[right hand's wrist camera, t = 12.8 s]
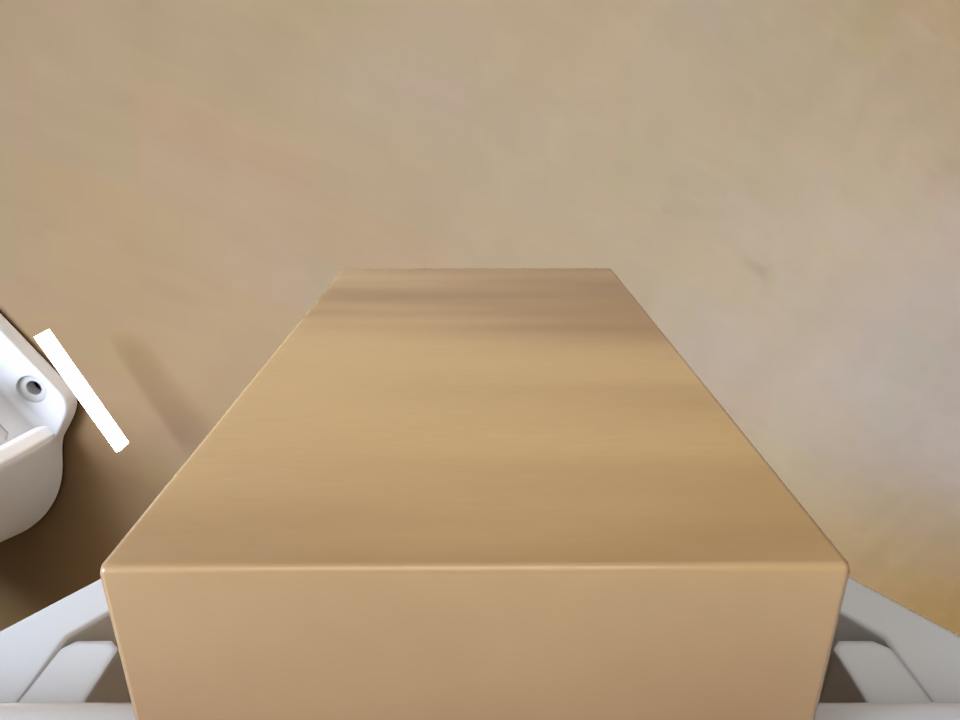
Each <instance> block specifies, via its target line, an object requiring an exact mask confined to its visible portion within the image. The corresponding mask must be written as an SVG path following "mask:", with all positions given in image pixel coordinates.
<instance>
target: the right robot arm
mask: <svg viewBox="0 0 960 720" xmlns="http://www.w3.org/2000/svg"><path fill="white" fill-rule="evenodd" d="M34 338H35V340H36V341H37V343H38V344H39V345H40V347H41V348H42V350H43V351H44V352H45V354H46V355H47V356H48V358H49V359H50V361H51V362H52V363H53V365H54V366H55V368H56V369H57V370H58V372H59V373H60V375H61V376H62V377H63V378H62V377H61V376H60V375H59V374H58V373H57V372H56V371H55V370H54V369H53V368H52V367H51V365H50V364H49V363H48V362H47V361H46V360H45V359H44V358H43V357H42V356H41V355H40V354H39V353H38V352H37V351H36V350H35V349H34V348H33V347H32V346H31V345H30V344H29V343H28V342H27V340H26V339H25V338H24V337H23V336H22V335H21V334H20V333H19V332H18V331H17V330H16V329H15V328H14V327H13V326H12V325H11V324H10V323H9V322H8V321H7V320H6V319H5V318H4V317H3V316H2V314H1V313H0V542H2V541H4V540H6V539H8V538H11V537H13V536H15V535H18V534H20V533H22V532H24V531H25V530H27V529H29V528H30V527H32V526H33V525H34V524H36V523H37V522H38V521H39V520H40V519H41V518H42V517H43V516H44V515H45V514H46V513H47V512H48V510H49V509H50V507H51V506H52V504H53V502H54V501H55V499H56V496H57V494H58V491H59V488H60V484H61V480H62V473H63V453H62V446H63V437H64V434H65V433H66V431H67V429H68V427H69V425H70V423H71V421H72V419H73V417H74V414H75V412H76V408H77V398H78V400H79V401H80V403H81V404H82V405H83V407H84V408H85V410H86V411H87V412H88V414H89V415H90V416H91V418H92V419H93V421H94V422H95V423H96V425H97V426H98V428H99V429H100V430H101V432H102V433H103V435H104V436H105V437H106V439H107V440H108V442H109V443H110V444H111V446H112V447H113V449H114V450H115V451H116V452H118V451H121V450H122V449H123V448H124V447H125V446H126V445H127V444H128V443H129V441H128V440H127V439H126V437H125V436H124V434H123V433H122V431H121V430H120V429H119V427H118V426H117V424H116V423H115V422H114V420H113V419H112V417H111V416H110V414H109V413H108V412H107V410H106V409H105V407H104V406H103V404H102V403H101V402H100V400H99V399H98V397H97V396H96V395H95V393H94V392H93V390H92V389H91V387H90V386H89V385H88V383H87V382H86V380H85V379H84V378H83V376H82V375H81V373H80V372H79V370H78V369H77V368H76V366H75V365H74V363H73V362H72V360H71V359H70V358H69V356H68V355H67V353H66V352H65V351H64V349H63V348H62V346H61V345H60V343H59V342H58V341H57V339H56V338H55V336H54V335H53V334H52V332H51V331H50V329H48V330H46V331H44V332H42V333H40V334H38V335H36V336H34ZM34 381H35V382H37V383H38V384H39V385H40V386H41V389H42V390H41V389H38V388H37V387H36V386H35V384H34ZM0 720H136V719H135V715H134V710H133V706H132V702H131V698H130V694H129V690H128V686H127V682H126V678H125V674H124V670H123V666H122V662H121V658H120V654H119V650H118V646H117V642H116V638H115V634H114V630H113V626H112V621H111V617H110V613H109V609H108V605H107V601H106V597H105V593H104V589H103V585H102V581H101V579H99V580H97V581H95V582H94V583H92V584H90V585H88V586H86V587H84V588H82V589H80V590H78V591H76V592H75V593H73V594H71V595H69V596H67V597H65V598H63V599H61V600H59V601H57V602H56V603H54V604H52V605H50V606H48V607H46V608H44V609H42V610H40V611H38V612H37V613H35V614H33V615H31V616H29V617H27V618H25V619H23V620H21V621H19V622H18V623H16V624H14V625H12V626H10V627H8V628H6V629H4V630H2V631H0ZM815 720H960V636H958V635H956V634H954V633H953V632H951V631H949V630H947V629H945V628H943V627H941V626H939V625H938V624H936V623H934V622H932V621H930V620H928V619H926V618H924V617H923V616H921V615H919V614H917V613H915V612H913V611H911V610H909V609H908V608H906V607H904V606H902V605H900V604H898V603H896V602H894V601H892V600H891V599H889V598H887V597H885V596H883V595H881V594H879V593H877V592H876V591H874V590H872V589H870V588H868V587H866V586H864V585H862V584H861V583H859V582H857V581H855V580H853V579H851V578H849V577H848V581H847V585H846V590H845V594H844V598H843V602H842V606H841V611H840V615H839V619H838V623H837V627H836V632H835V636H834V640H833V644H832V648H831V653H830V657H829V661H828V665H827V669H826V674H825V678H824V682H823V686H822V690H821V695H820V699H819V703H818V707H817V711H816V716H815Z"/></svg>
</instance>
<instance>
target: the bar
mask: <svg viewBox="0 0 960 720" xmlns="http://www.w3.org/2000/svg"><path fill="white" fill-rule="evenodd" d="M849 573H850V570H849V565H848V562H847V561H846V560H845V558H844V557H843V556H842V555H841V553H840V552H839V551H838V550H837V548H836V547H835V546H834V545H833V544H832V542H831V541H830V540H829V539H828V537H827V536H826V535H825V534H824V532H823V531H822V530H821V529H820V527H819V526H818V525H817V524H816V522H815V521H814V520H813V519H812V517H811V516H810V515H809V514H808V513H807V511H806V510H805V509H804V508H803V506H802V505H801V504H800V503H799V501H798V500H797V499H796V498H795V496H794V495H793V494H792V493H791V491H790V490H789V489H788V488H787V487H786V485H785V484H784V483H783V482H782V480H781V479H780V478H779V477H778V475H777V474H776V473H775V472H774V470H773V469H772V468H771V467H770V465H769V464H768V463H767V462H766V461H765V459H764V458H763V457H762V456H761V454H760V453H759V452H758V451H757V449H756V448H755V447H754V446H753V444H752V443H751V442H750V441H749V439H748V438H747V437H746V436H745V434H744V433H743V432H742V431H741V430H740V428H739V427H738V426H737V425H736V423H735V422H734V421H733V420H732V418H731V417H730V416H729V415H728V413H727V412H726V411H725V410H724V408H723V407H722V406H721V405H720V404H719V402H718V401H717V400H716V399H715V397H714V396H713V395H712V394H711V392H710V391H709V390H708V389H707V387H706V386H705V385H704V384H703V382H702V381H701V380H700V379H699V377H698V376H697V375H696V374H695V373H694V371H693V370H692V369H691V368H690V366H689V365H688V364H687V363H686V361H685V360H684V359H683V358H682V356H681V355H680V354H679V353H678V351H677V350H676V349H675V348H674V347H673V345H672V344H671V343H670V342H669V340H668V339H667V338H666V337H665V335H664V334H663V333H662V332H661V330H660V329H659V328H658V327H657V325H656V324H655V323H654V322H653V320H652V319H651V318H650V317H649V316H648V314H647V313H646V312H645V311H644V309H643V308H642V307H641V306H640V304H639V303H638V302H637V301H636V299H635V298H634V297H633V296H632V294H631V293H630V292H629V291H628V290H627V288H626V287H625V286H624V285H623V283H622V282H621V281H620V280H619V278H618V277H617V276H616V275H615V273H614V272H613V271H612V270H611V269H343V270H341V272H340V273H339V274H338V275H337V276H336V278H335V279H334V280H333V281H332V283H331V284H330V285H329V286H328V288H327V289H326V290H325V291H324V292H323V294H322V295H321V296H320V297H319V299H318V300H317V301H316V302H315V304H314V305H313V306H312V307H311V308H310V310H309V311H308V312H307V313H306V315H305V316H304V317H303V318H302V319H301V321H300V322H299V323H298V324H297V326H296V327H295V328H294V329H293V331H292V332H291V333H290V334H289V335H288V337H287V338H286V339H285V340H284V342H283V343H282V344H281V345H280V346H279V348H278V349H277V350H276V351H275V353H274V354H273V355H272V356H271V358H270V359H269V360H268V361H267V362H266V364H265V365H264V366H263V367H262V369H261V370H260V371H259V372H258V373H257V375H256V376H255V377H254V378H253V380H252V381H251V382H250V383H249V385H248V386H247V387H246V388H245V389H244V391H243V392H242V393H241V394H240V396H239V397H238V398H237V399H236V400H235V402H234V403H233V404H232V405H231V407H230V408H229V409H228V410H227V412H226V413H225V414H224V415H223V416H222V418H221V419H220V420H219V421H218V423H217V424H216V425H215V426H214V427H213V429H212V430H211V431H210V432H209V434H208V435H207V436H206V437H205V439H204V440H203V441H202V442H201V443H200V445H199V446H198V447H197V448H196V450H195V451H194V452H193V453H192V454H191V456H190V457H189V458H188V459H187V461H186V462H185V463H184V464H183V466H182V467H181V468H180V469H179V470H178V472H177V473H176V474H175V475H174V477H173V478H172V479H171V480H170V481H169V483H168V484H167V485H166V486H165V488H164V489H163V490H162V491H161V493H160V494H159V495H158V496H157V497H156V499H155V500H154V501H153V502H152V504H151V505H150V506H149V507H148V509H147V510H146V511H145V512H144V513H143V515H142V516H141V517H140V518H139V520H138V521H137V522H136V523H135V524H134V526H133V527H132V528H131V529H130V531H129V532H128V533H127V534H126V536H125V537H124V538H123V539H122V540H121V542H120V543H119V544H118V545H117V547H116V548H115V549H114V550H113V551H112V553H111V554H110V555H109V556H108V558H107V559H106V560H105V561H104V563H103V564H102V566H101V569H100V577H101V581H102V585H103V589H104V593H105V597H106V601H107V605H108V609H109V613H110V617H111V621H112V626H113V630H114V634H115V638H116V642H117V646H118V650H119V654H120V658H121V662H122V666H123V670H124V674H125V678H126V682H127V686H128V690H129V694H130V698H131V702H132V706H133V710H134V715H135V719H136V720H815V716H816V711H817V707H818V703H819V699H820V695H821V690H822V686H823V682H824V678H825V674H826V669H827V665H828V661H829V657H830V653H831V648H832V644H833V640H834V636H835V632H836V627H837V623H838V619H839V615H840V611H841V606H842V602H843V598H844V594H845V590H846V585H847V581H848V577H849Z"/></svg>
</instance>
